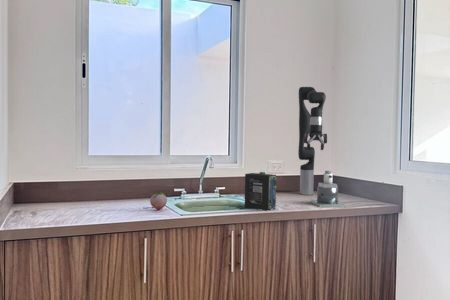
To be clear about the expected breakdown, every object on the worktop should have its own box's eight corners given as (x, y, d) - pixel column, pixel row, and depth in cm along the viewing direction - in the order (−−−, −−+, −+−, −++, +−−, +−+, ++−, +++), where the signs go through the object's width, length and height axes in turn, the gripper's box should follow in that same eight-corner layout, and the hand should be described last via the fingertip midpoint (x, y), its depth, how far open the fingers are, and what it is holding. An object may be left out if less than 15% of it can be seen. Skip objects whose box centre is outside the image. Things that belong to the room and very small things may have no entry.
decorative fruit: (156, 208, 208) (156, 189, 207) (169, 209, 204) (169, 190, 204) (146, 211, 199) (146, 192, 199) (159, 212, 196) (160, 193, 195)
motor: (309, 202, 233) (309, 182, 232) (334, 202, 235) (334, 181, 235) (319, 207, 217) (320, 185, 217) (346, 206, 219) (346, 185, 219)
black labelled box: (270, 211, 203) (271, 173, 202) (242, 207, 214) (243, 171, 213) (277, 209, 210) (278, 172, 209) (250, 205, 221) (250, 170, 220)
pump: (322, 186, 228) (322, 170, 228) (330, 186, 228) (330, 170, 228) (326, 187, 221) (327, 171, 221) (334, 187, 222) (335, 171, 222)
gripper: (324, 124, 242) (323, 149, 243) (303, 124, 240) (302, 149, 241) (329, 124, 235) (328, 150, 236) (307, 124, 232) (306, 150, 233)
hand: (315, 150), depth 238 cm, fingers open, 8 cm apart
